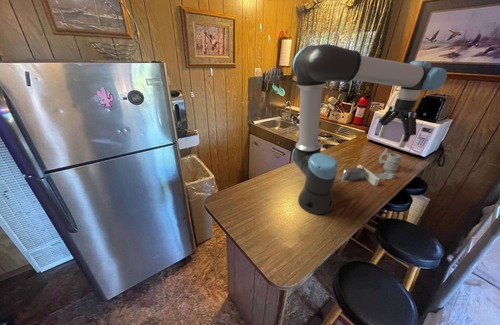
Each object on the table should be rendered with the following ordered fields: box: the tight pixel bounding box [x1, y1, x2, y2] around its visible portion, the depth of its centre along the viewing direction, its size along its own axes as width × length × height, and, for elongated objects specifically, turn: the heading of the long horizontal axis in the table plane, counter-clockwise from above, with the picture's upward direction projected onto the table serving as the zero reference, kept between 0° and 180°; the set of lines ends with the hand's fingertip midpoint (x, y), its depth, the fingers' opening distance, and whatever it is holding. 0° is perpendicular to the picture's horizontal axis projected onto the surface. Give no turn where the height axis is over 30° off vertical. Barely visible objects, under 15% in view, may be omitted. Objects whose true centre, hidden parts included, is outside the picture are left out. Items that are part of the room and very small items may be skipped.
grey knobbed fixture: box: [337, 168, 350, 183], centre depth 110 cm, size 4×5×6 cm
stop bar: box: [346, 166, 366, 182], centre depth 111 cm, size 9×4×7 cm, turn 98°
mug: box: [378, 148, 403, 173], centre depth 121 cm, size 8×12×12 cm, turn 31°
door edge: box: [356, 164, 381, 187], centre depth 112 cm, size 2×16×4 cm, turn 8°
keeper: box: [367, 169, 397, 181], centre depth 114 cm, size 14×6×3 cm, turn 98°
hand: (390, 142), depth 100 cm, fingers open, 13 cm apart
